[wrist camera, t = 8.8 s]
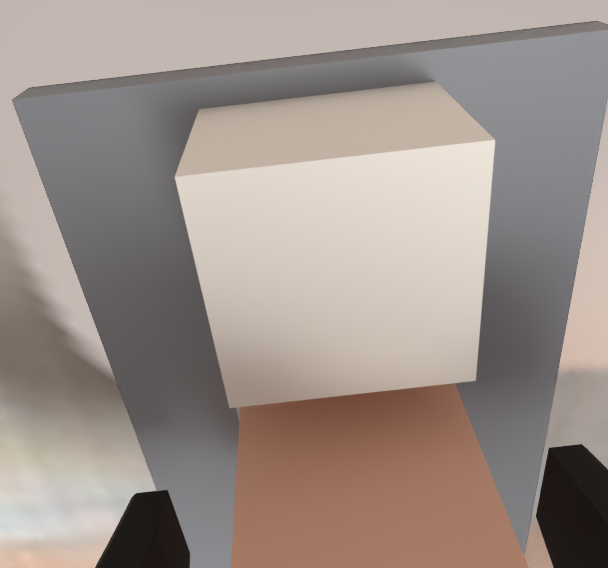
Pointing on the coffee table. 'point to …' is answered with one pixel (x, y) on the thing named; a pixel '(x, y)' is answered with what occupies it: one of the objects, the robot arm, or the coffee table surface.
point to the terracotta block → (367, 485)
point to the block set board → (162, 280)
